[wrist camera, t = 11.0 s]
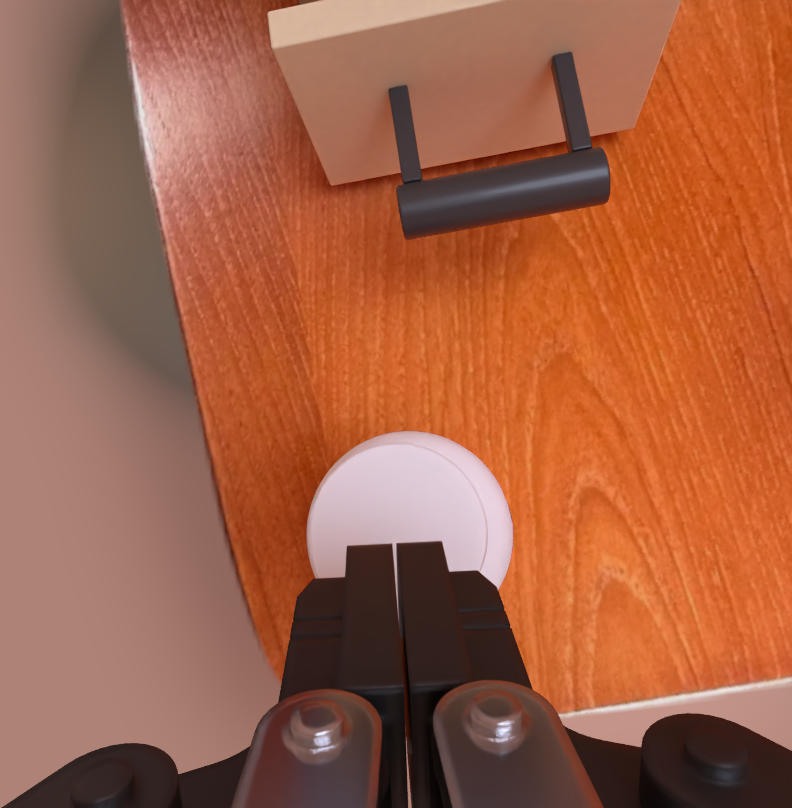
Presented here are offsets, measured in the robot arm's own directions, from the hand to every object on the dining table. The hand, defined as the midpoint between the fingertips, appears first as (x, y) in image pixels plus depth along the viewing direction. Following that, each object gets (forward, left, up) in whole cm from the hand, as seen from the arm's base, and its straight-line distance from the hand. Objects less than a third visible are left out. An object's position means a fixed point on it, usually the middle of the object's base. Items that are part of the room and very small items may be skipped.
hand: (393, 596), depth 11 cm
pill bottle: (0, +1, -14) cm, 14 cm away
